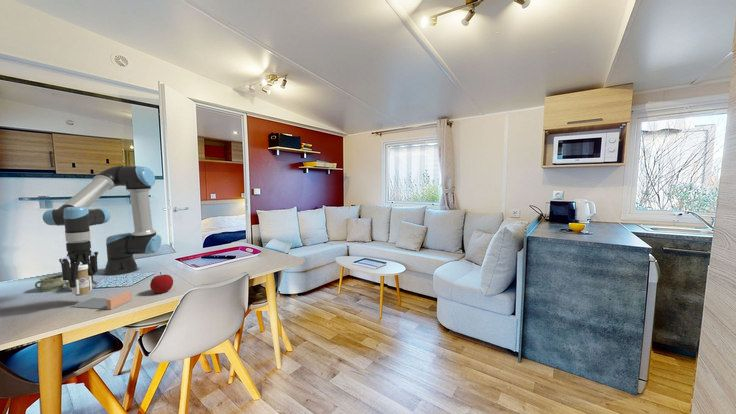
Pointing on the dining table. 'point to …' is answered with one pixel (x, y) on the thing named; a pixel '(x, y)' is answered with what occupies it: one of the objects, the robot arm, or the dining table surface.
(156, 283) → the apple
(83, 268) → the sprinkles bottle
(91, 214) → the robot arm
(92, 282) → the ceramic mug
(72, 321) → the dining table surface
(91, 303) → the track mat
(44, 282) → the vessel
